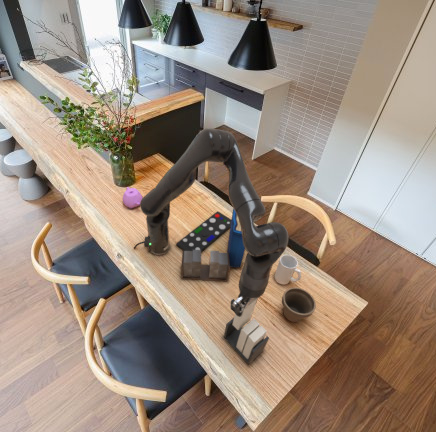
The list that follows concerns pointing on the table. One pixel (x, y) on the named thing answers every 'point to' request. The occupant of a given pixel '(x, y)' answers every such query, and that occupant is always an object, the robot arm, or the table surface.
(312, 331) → the table surface
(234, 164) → the robot arm
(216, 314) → the table surface
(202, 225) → the remote control
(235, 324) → the white book
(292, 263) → the mug
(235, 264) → the book
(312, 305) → the flower pot
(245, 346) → the dark book holder
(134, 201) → the teapot
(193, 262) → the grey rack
